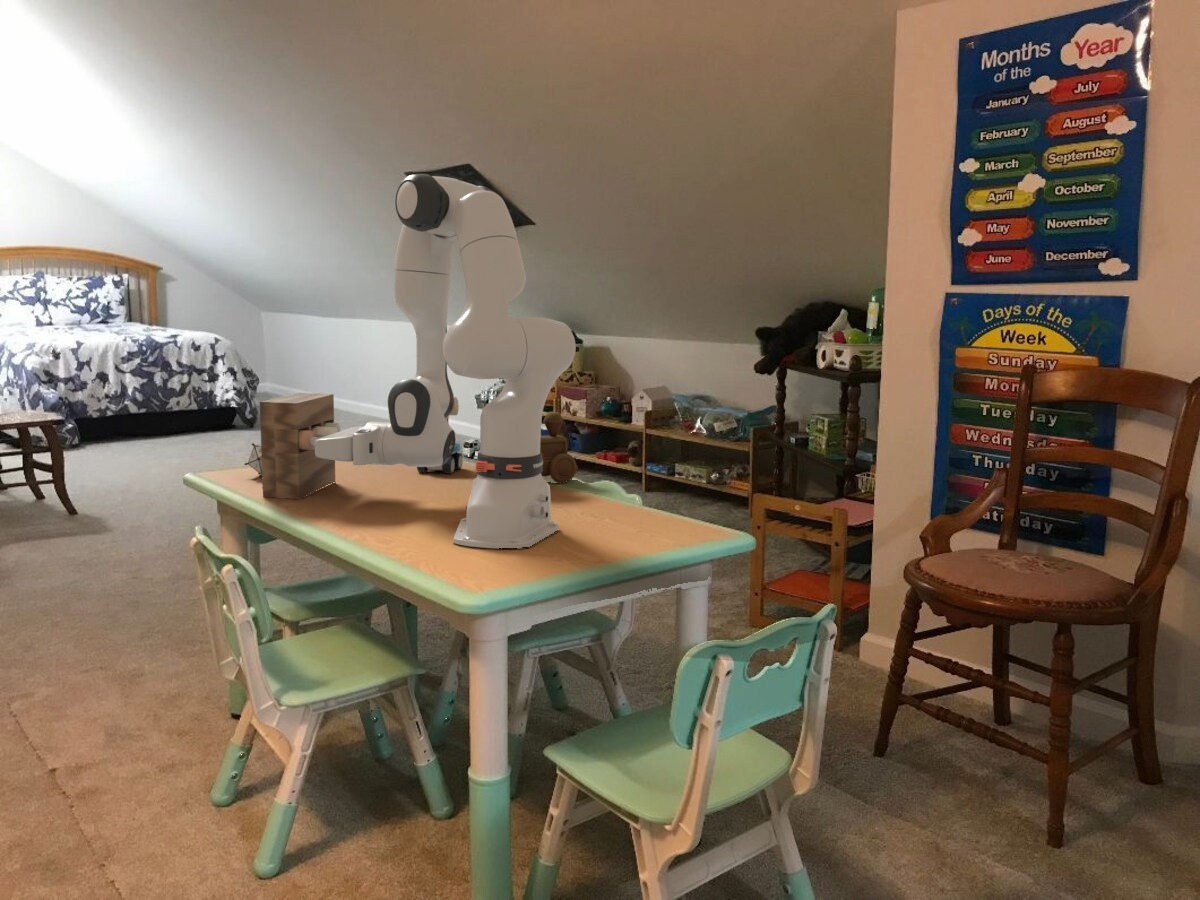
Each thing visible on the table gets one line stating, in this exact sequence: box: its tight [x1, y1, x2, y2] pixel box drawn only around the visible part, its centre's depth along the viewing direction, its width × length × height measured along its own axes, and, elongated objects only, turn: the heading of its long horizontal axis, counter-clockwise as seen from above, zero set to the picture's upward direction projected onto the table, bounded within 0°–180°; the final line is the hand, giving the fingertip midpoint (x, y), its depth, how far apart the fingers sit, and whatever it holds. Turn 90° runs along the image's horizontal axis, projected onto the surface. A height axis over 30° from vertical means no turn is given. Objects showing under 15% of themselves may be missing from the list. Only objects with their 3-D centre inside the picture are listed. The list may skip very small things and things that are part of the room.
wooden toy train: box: [540, 411, 579, 484], centre depth 226 cm, size 20×11×17 cm, turn 120°
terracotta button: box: [298, 430, 316, 450], centre depth 204 cm, size 6×4×4 cm, turn 81°
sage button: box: [323, 422, 342, 432], centre depth 216 cm, size 6×4×4 cm, turn 81°
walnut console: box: [259, 392, 336, 500], centre depth 211 cm, size 8×18×20 cm, turn 171°
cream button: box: [311, 426, 338, 435], centre depth 210 cm, size 6×4×4 cm, turn 81°
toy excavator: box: [416, 396, 464, 474], centre depth 239 cm, size 9×17×17 cm, turn 170°
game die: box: [243, 442, 262, 479], centre depth 226 cm, size 9×8×10 cm
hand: (313, 440), depth 204 cm, fingers closed, pressing on terracotta button
